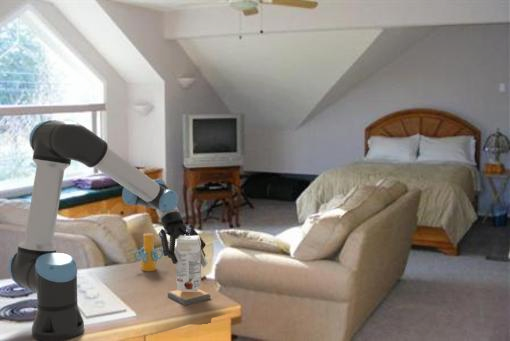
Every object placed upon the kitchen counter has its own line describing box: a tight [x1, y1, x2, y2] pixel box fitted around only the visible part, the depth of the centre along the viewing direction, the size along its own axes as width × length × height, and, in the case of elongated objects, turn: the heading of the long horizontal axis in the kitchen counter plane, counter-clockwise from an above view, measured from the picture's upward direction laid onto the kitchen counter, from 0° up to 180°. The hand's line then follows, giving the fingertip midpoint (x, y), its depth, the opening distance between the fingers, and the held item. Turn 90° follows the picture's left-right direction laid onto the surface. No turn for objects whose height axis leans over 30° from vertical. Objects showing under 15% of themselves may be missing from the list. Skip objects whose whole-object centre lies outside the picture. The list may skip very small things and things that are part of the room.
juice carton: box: [175, 234, 202, 291], centre depth 212 cm, size 8×9×19 cm
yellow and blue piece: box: [133, 232, 164, 272], centre depth 246 cm, size 12×10×15 cm
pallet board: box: [167, 288, 211, 306], centre depth 214 cm, size 11×11×2 cm
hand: (193, 268), depth 210 cm, fingers closed on juice carton, 9 cm apart
